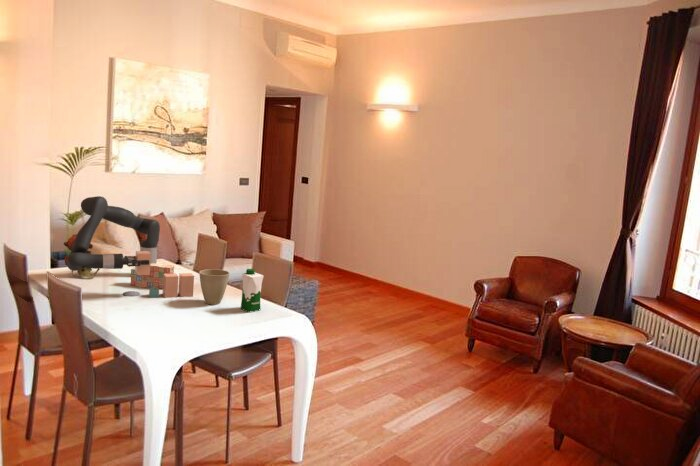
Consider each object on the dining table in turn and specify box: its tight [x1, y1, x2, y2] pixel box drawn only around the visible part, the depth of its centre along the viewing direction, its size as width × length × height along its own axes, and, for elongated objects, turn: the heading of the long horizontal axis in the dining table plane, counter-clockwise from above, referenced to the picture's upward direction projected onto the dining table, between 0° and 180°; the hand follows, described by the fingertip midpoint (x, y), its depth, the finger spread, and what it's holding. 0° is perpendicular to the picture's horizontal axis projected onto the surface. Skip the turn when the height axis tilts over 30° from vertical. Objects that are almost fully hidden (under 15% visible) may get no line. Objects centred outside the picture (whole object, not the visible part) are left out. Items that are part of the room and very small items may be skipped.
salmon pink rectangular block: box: [134, 250, 151, 275], centre depth 280 cm, size 6×6×11 cm
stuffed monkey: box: [63, 233, 101, 280], centre depth 304 cm, size 15×17×25 cm
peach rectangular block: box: [178, 272, 195, 298], centre depth 289 cm, size 6×6×11 cm
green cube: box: [148, 287, 160, 299], centre depth 282 cm, size 4×4×4 cm
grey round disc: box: [122, 290, 141, 297], centre depth 283 cm, size 8×8×1 cm
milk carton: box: [240, 268, 265, 312], centre depth 275 cm, size 9×9×20 cm
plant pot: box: [198, 268, 230, 306], centre depth 280 cm, size 15×15×16 cm
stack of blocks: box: [130, 263, 175, 290], centre depth 300 cm, size 21×6×12 cm, turn 88°
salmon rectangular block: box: [162, 273, 179, 299], centre depth 286 cm, size 6×6×11 cm
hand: (147, 260), depth 281 cm, fingers closed on salmon pink rectangular block, 6 cm apart
